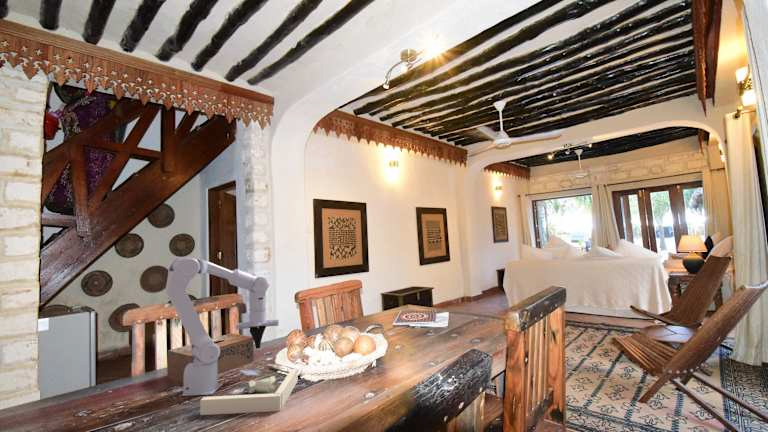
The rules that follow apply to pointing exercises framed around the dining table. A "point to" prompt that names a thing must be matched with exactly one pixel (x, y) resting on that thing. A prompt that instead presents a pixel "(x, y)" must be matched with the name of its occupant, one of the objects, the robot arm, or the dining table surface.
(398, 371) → the dining table surface
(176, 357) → the tissue box cover
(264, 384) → the pipe fitting
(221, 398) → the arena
